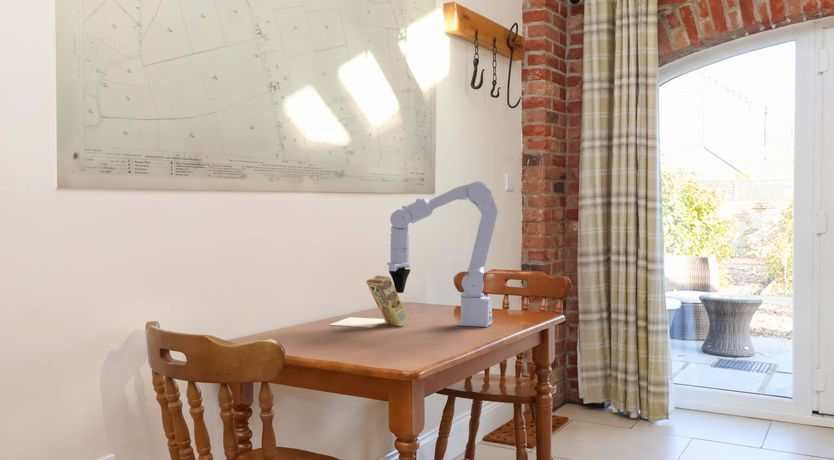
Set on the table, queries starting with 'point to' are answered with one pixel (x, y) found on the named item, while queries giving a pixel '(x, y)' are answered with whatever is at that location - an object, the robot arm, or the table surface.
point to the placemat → (359, 322)
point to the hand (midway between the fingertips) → (399, 292)
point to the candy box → (387, 300)
